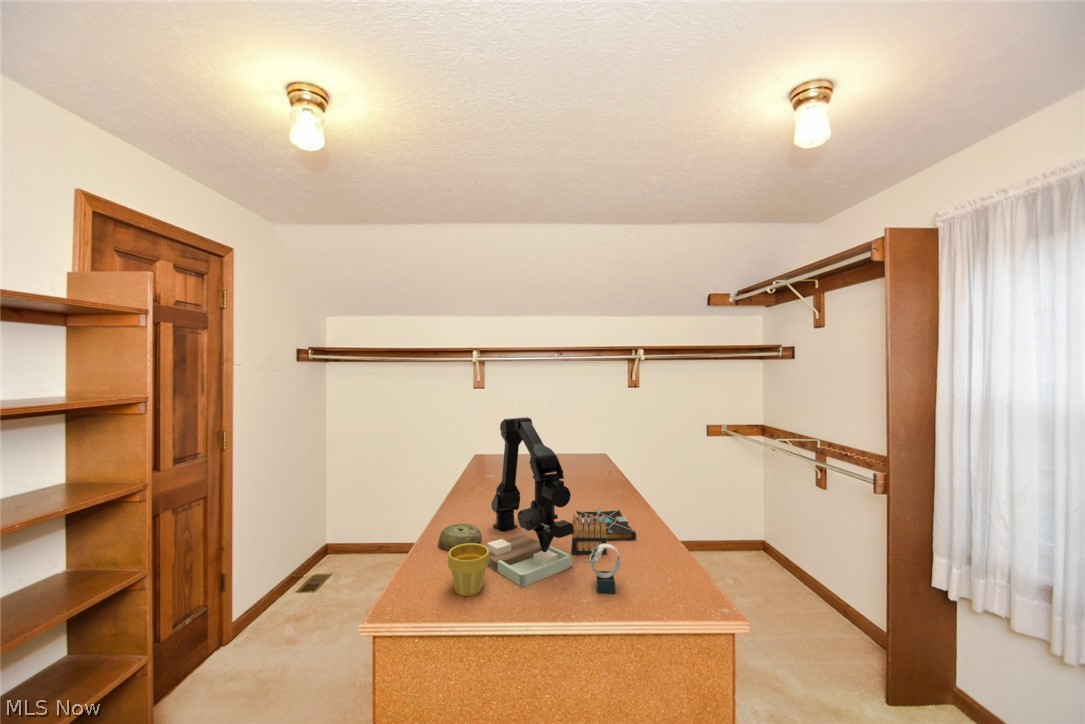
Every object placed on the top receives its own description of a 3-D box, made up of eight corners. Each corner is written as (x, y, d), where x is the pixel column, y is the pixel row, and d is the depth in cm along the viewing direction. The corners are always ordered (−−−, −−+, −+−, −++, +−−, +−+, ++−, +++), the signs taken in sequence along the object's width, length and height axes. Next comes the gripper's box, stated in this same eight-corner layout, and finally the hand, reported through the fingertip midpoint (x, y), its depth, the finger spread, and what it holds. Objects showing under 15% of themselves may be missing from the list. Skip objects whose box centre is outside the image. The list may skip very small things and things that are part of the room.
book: (636, 542, 142) (636, 526, 142) (585, 543, 141) (585, 527, 141) (620, 518, 164) (620, 505, 164) (575, 519, 163) (575, 506, 163)
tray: (497, 571, 120) (497, 561, 120) (546, 553, 132) (546, 543, 132) (522, 587, 112) (522, 575, 112) (572, 566, 124) (572, 556, 124)
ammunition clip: (571, 554, 132) (571, 515, 132) (571, 552, 133) (571, 512, 133) (607, 554, 132) (607, 514, 132) (606, 552, 133) (606, 512, 134)
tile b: (487, 549, 129) (487, 543, 129) (501, 545, 132) (501, 538, 132) (497, 555, 125) (497, 548, 125) (511, 550, 128) (511, 543, 128)
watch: (588, 582, 115) (588, 540, 115) (619, 583, 114) (619, 541, 114) (589, 593, 109) (589, 549, 109) (621, 594, 109) (621, 550, 109)
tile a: (533, 561, 126) (533, 554, 126) (545, 555, 129) (545, 549, 129) (545, 566, 122) (545, 559, 122) (557, 561, 126) (558, 554, 126)
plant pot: (495, 593, 109) (495, 554, 109) (455, 604, 104) (455, 563, 104) (480, 576, 118) (480, 540, 118) (442, 585, 113) (442, 547, 113)
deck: (476, 558, 129) (476, 550, 129) (524, 542, 140) (524, 534, 141) (497, 571, 120) (497, 562, 120) (546, 553, 132) (546, 545, 132)
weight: (489, 539, 143) (489, 524, 143) (465, 556, 131) (465, 539, 131) (455, 533, 149) (455, 518, 149) (429, 548, 137) (429, 532, 137)
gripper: (502, 495, 127) (502, 549, 127) (544, 511, 113) (544, 571, 113) (532, 488, 134) (532, 539, 134) (575, 502, 120) (575, 559, 120)
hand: (544, 551), depth 125 cm, fingers closed
